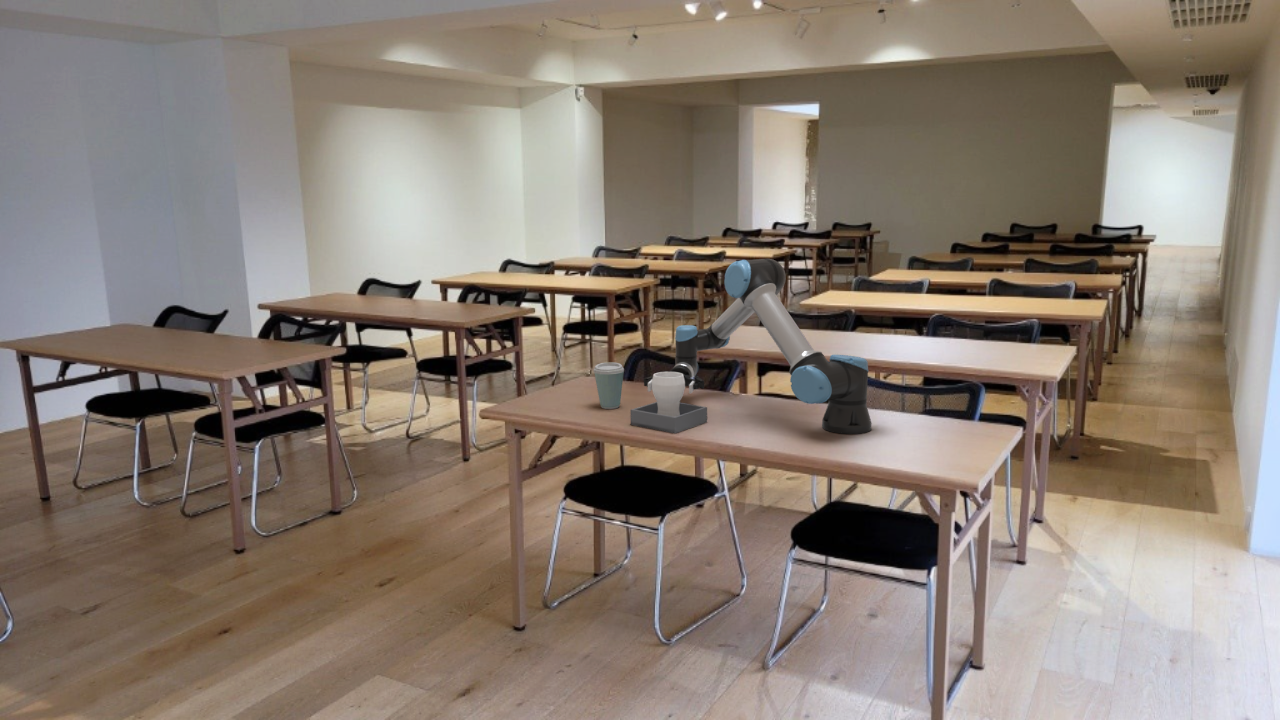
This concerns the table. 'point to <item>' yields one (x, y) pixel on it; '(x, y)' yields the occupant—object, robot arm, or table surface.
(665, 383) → the white ceramic vase
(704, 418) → the bin
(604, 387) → the disposable coffee cup
